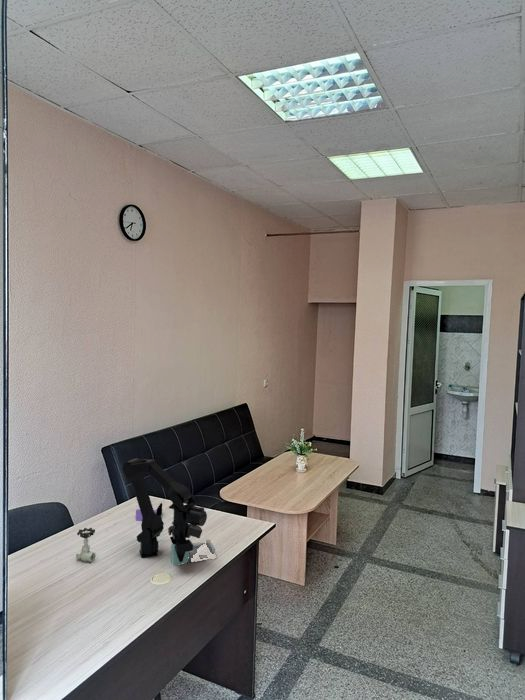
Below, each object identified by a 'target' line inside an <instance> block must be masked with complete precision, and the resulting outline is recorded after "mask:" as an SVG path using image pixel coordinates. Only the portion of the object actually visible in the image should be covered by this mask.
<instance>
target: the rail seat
mask: <svg viewBox="0 0 525 700" xmlns="http://www.w3.org/2000/svg"><path fill="white" fill-rule="evenodd" d="M205 543H206V545H207V547H208V548H209V550H210V552H211V553H212V554H214V553H215V554H216V547H215V546H214V544H213V543H212V541H211V540H210V539H208V538H207V539H206V542H202V543H200V542H195V543H193V542H192V544H193V550H192V551H189V555H188V557H189V559H190V561H191V558H193V555H195V554H196V553H197V549H198V548H199V547H200V546H201V545H203V544H205ZM199 557H200V559H203V558H208V557H207V555H199ZM189 559H188V560H189ZM190 561H189V562H190Z"/></svg>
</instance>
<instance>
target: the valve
mask: <svg viewBox="0 0 525 700" xmlns="http://www.w3.org/2000/svg"><path fill="white" fill-rule="evenodd" d="M95 533H96V529H94V528H92V527H89V528H87V527H84V528H83V529H79V530H78V531H77V536H79V537H80V538H83V539H84V540H83V545H82V547H81V549H78V550H77V551H76V554H75V559H77V560H80V561H81V562H84V563H85V562H92V563H93V562H94V561H95V559H96V556H97V555H96V552H93V551H90V550H91V546H90V545H89V538H91V537H92V536H94V534H95Z"/></svg>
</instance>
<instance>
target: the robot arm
mask: <svg viewBox="0 0 525 700" xmlns="http://www.w3.org/2000/svg"><path fill="white" fill-rule="evenodd" d="M122 472H123V474H124V475H125V476H124V477H125V478H126V480H128V481H129V482H130V484H132V488H133V492H134V495H135V498H136V501H137V504H138V507H139V508H138V509H140V511H141V514H142V521H141V525H140V526H141V532H140V533H139V534H137V536H136V540H137V542H138V543H139V544H140V545H139V546H140V547H139V550H138V552H139V555H140V558H141V559H143V558H144V559H145V558H151V557H157V556H158V553H159V540H158V537H160V536H161V534H162V533H163V532H164V531H163V530H164V524H165V523H164V521H163V519H162V515H159V516H158V515H157V514H155V512H154V510H155V509H154V507H153V504H152V501H151V498H150V495H149V491H148V488H147V485H146V482H145V472H146V473H148V475H149V476H151V477H152V478H153V479H154V481H156V483H157V484H159V485H160V486H161V487H162V488H163V489H164V490H165V492H167V496H168V499H169V500H170V502H171V504H170V505H169V506H168V509H171V510H173V521H172V525H170V526H169V527H168V529H167V530H168V531H167V533H168V536H170V537H169V539H170V541H171V545H172V544H175V546H174V548H175V551H176V553H177V556H178V559H179V562H182V561H183V558H184V555H185V552H187V551H192V550H193V542H192V541H191V540H190V538H191V537H192V538H193V537H194V538H196V539H200V538H201V536H202V534H203V529H202V527H204V525H205V524H206V521H207V520H208V519H207V518H208V514H207V512H206V511H205V507H202V506H196V505H197V502H196V500H195V498H194V496H193V495H192V491H191V489H190V488H189V487H187V486H186V485H184V484H182V483H180V482H177V481H175V480H174V479H173V478H172V477H171V475H169V474H168V473H167V472H166V471H165V470H164V469H163V468H162V467H161V466H160V465H159V464H158V463H157V460H155V459H141V458H133V459H131V460H128V461H125V462H124V463H123V465H122ZM185 503H186V504H185Z"/></svg>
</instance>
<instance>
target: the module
mask: <svg viewBox="0 0 525 700" xmlns="http://www.w3.org/2000/svg"><path fill="white" fill-rule="evenodd" d="M174 546H175V544H172V543H171V546H170V547H171V550H170V552H171V553H170V561H171V565H172V564H173V565H176V566H179V565H178V564H182V563H187V562H188V563H189V559H188V555H189V551H187V552H185V555H184V558H183V561H182V562H179V559H178V556H177V553H176V551H175V548H174ZM173 565H172V566H173Z"/></svg>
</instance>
